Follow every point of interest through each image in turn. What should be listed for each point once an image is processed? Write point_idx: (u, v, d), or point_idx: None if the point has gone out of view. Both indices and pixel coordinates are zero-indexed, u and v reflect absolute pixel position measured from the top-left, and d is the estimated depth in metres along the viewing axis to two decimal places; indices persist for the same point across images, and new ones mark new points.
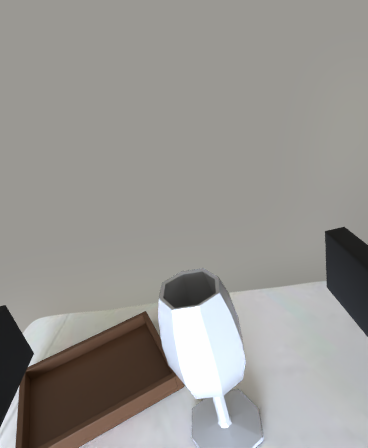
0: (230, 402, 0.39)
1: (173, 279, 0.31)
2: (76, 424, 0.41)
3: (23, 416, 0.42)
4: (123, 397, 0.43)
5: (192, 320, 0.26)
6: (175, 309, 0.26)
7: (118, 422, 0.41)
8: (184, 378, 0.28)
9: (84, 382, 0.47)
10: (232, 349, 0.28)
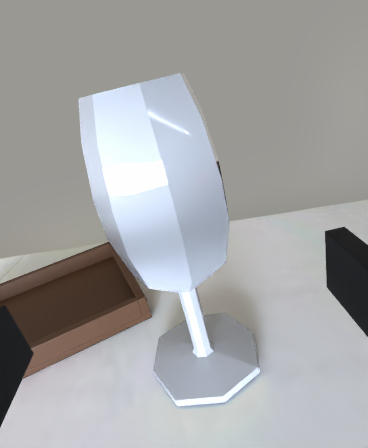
0: (212, 327, 0.27)
1: None
2: None
3: None
4: None
5: (128, 112, 0.14)
6: (98, 94, 0.15)
7: (55, 359, 0.29)
8: (123, 239, 0.17)
9: (22, 317, 0.35)
10: (205, 187, 0.16)
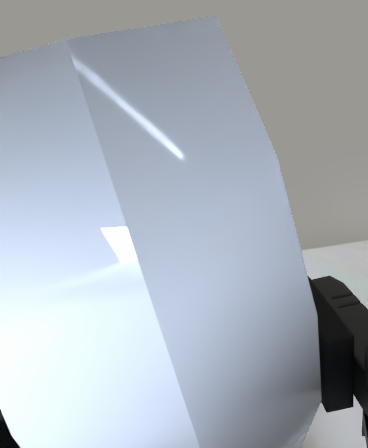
0: None
1: None
2: None
3: None
4: None
5: (33, 152, 0.04)
6: None
7: None
8: None
9: None
10: (278, 348, 0.06)
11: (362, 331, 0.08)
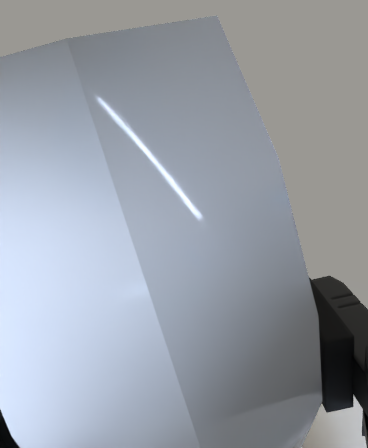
0: None
1: None
2: None
3: None
4: None
5: (33, 151, 0.04)
6: None
7: None
8: None
9: None
10: (279, 349, 0.06)
11: (362, 331, 0.08)
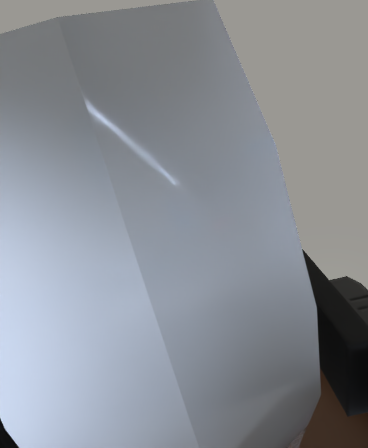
0: None
1: None
2: None
3: None
4: None
5: (24, 134, 0.04)
6: None
7: None
8: None
9: None
10: (277, 340, 0.06)
11: None
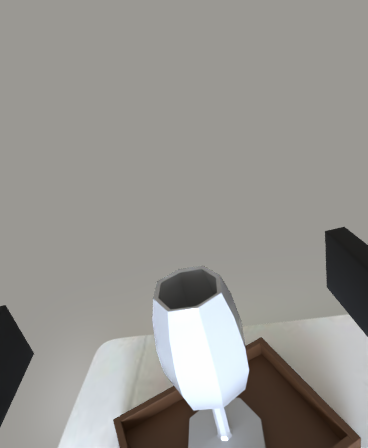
0: (230, 412, 0.36)
1: (170, 278, 0.28)
2: None
3: None
4: None
5: (190, 323, 0.23)
6: (171, 311, 0.23)
7: None
8: (180, 388, 0.26)
9: None
10: (234, 356, 0.25)
11: None
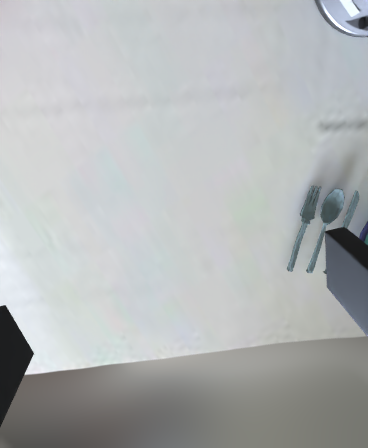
0: None
1: None
2: None
3: None
4: None
5: None
6: None
7: None
8: None
9: None
10: None
11: None
